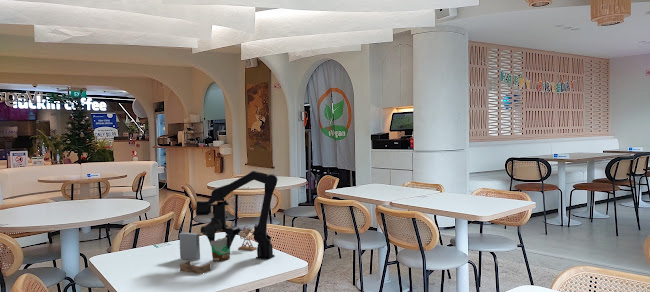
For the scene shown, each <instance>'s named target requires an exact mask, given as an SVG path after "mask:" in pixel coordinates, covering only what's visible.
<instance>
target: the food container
mask: <svg viewBox="0 0 650 292" xmlns="http://www.w3.org/2000/svg"><path fill="white" fill-rule="evenodd" d="M224 236H225V235H224ZM209 245H210V248H211V256H212V262H213V263H219V262H220V263H221V262H226V261H229V260H230V259H231V248H230V249H228V247H227V238H226V236H225V237H222V238H218V239H215V241H211V242H209Z"/></svg>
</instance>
